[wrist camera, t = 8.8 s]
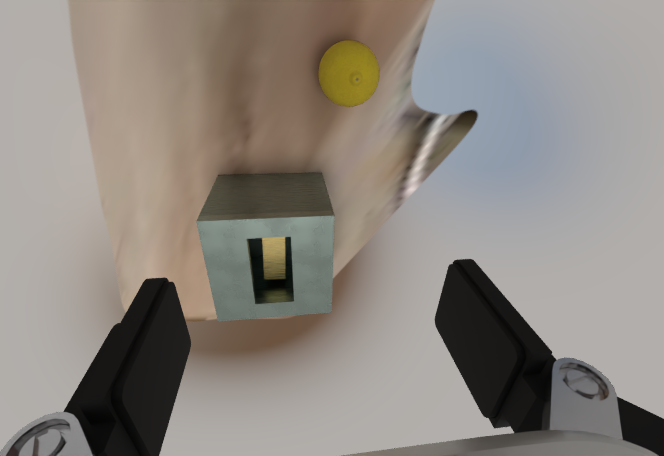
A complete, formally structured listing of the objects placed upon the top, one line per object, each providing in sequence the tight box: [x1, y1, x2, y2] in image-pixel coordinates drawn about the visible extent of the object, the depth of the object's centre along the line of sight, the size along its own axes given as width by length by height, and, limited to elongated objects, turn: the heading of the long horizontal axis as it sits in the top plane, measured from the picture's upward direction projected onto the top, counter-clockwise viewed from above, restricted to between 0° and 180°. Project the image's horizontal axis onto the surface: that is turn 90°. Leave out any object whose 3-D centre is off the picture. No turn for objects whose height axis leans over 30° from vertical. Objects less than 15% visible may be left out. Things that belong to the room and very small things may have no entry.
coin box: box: [196, 173, 334, 321], centre depth 36 cm, size 12×12×11 cm
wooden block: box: [262, 237, 285, 280], centre depth 38 cm, size 6×2×6 cm
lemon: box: [318, 40, 379, 107], centre depth 30 cm, size 6×6×8 cm
